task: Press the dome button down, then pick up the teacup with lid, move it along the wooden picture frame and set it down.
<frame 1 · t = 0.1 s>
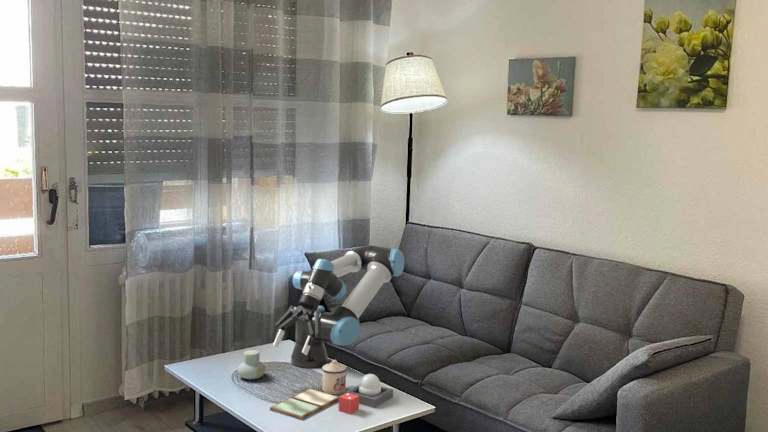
hand: (289, 350, 272), 15 cm above the table, tool tilted 35°, fingers open, 13 cm apart
dome button: (370, 384, 267), point 6 cm above the table, slide at 0.0 cm
teacup with lid: (336, 390, 276), on the table
red die: (348, 410, 257), on the table
button bezel: (369, 398, 268), on the table
wooden picture frame: (305, 404, 261), on the table
air freshener: (251, 377, 286), on the table
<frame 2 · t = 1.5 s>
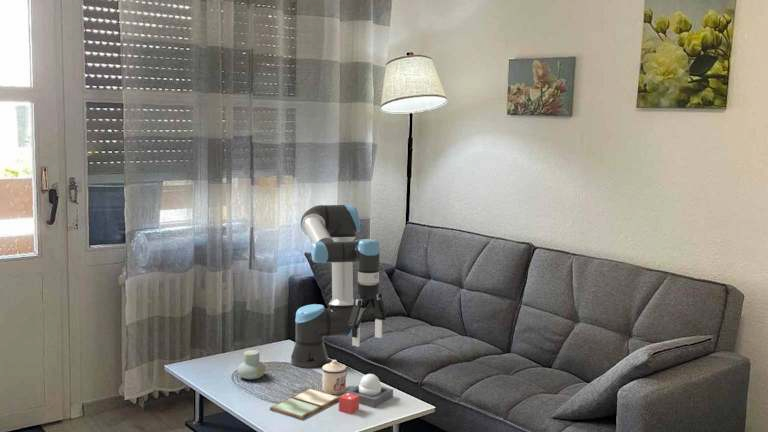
hand: (367, 341, 264), 21 cm above the table, tool pointing down, fingers open, 13 cm apart
nothing on the table moved.
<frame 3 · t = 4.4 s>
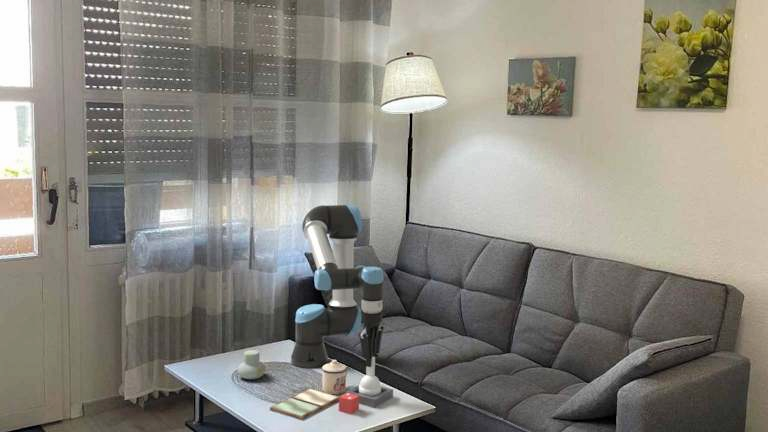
hand: (370, 374, 266), 9 cm above the table, tool pointing down, fingers closed
dome button: (370, 384, 267), point 5 cm above the table, slide at 0.2 cm, touching gripper
everything else where it was.
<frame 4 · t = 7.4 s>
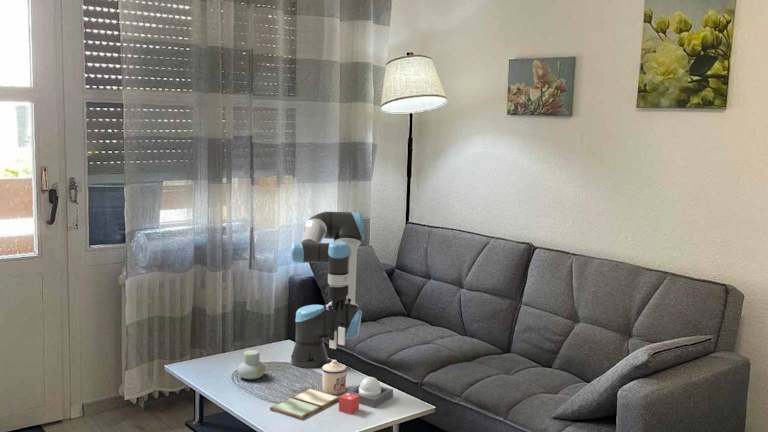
hand: (337, 346, 273), 17 cm above the table, tool pointing down, fingers open, 5 cm apart
dome button: (370, 387, 267), point 4 cm above the table, slide at 1.1 cm
everything else where it was.
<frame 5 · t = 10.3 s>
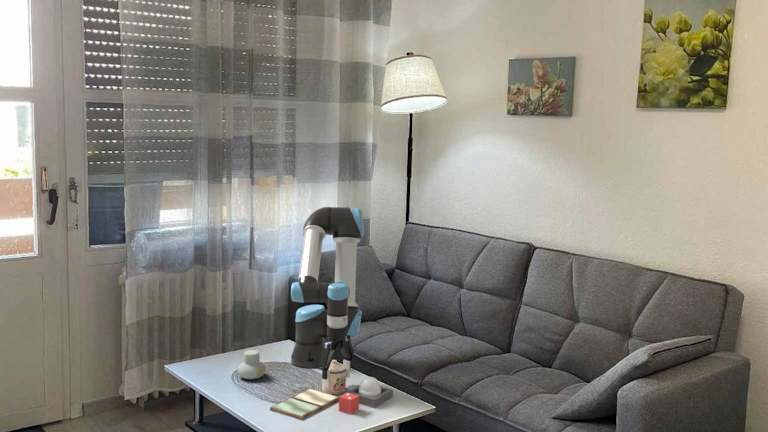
hand: (336, 382, 275), 3 cm above the table, tool pointing down, fingers closed on teacup with lid, 12 cm apart
teacup with lid: (336, 390, 276), on the table, touching gripper
everything else where it was.
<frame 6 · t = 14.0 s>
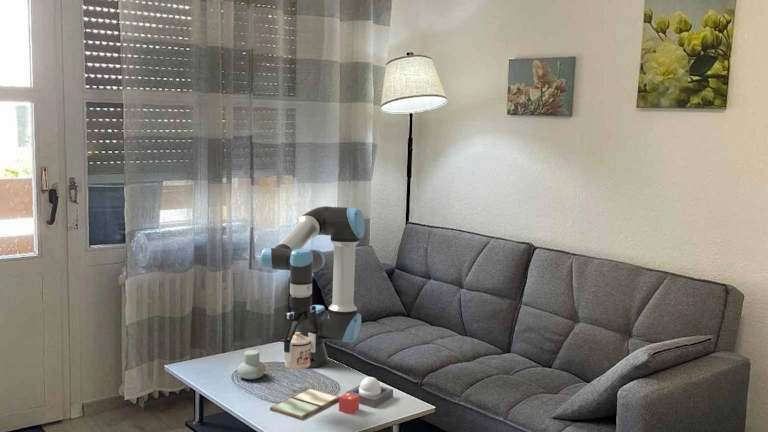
hand: (300, 356, 255), 19 cm above the table, tool pointing down, fingers closed on teacup with lid, 12 cm apart
teacup with lid: (300, 364, 255), point 16 cm above the table, touching gripper
everything else where it was.
when the fingers open (5 cm above the table, at t = 17.9 s): teacup with lid stays where it is, resting on wooden picture frame.
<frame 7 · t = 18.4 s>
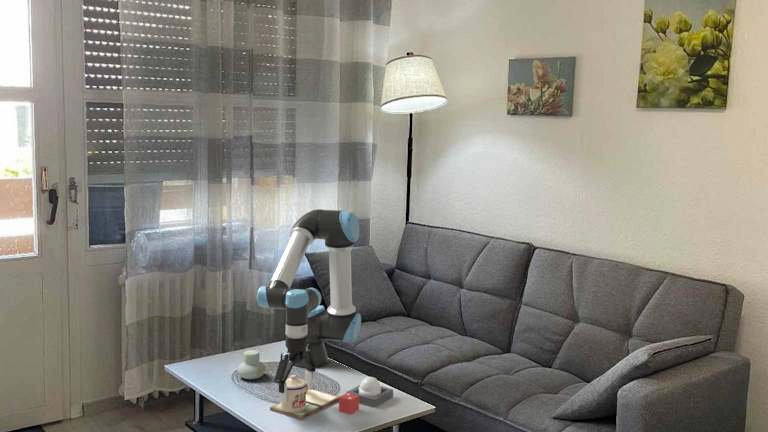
hand: (296, 395, 255), 5 cm above the table, tool pointing down, fingers open, 13 cm apart
teacup with lid: (295, 407, 256), point 1 cm above the table, touching wooden picture frame
everything else where it was.
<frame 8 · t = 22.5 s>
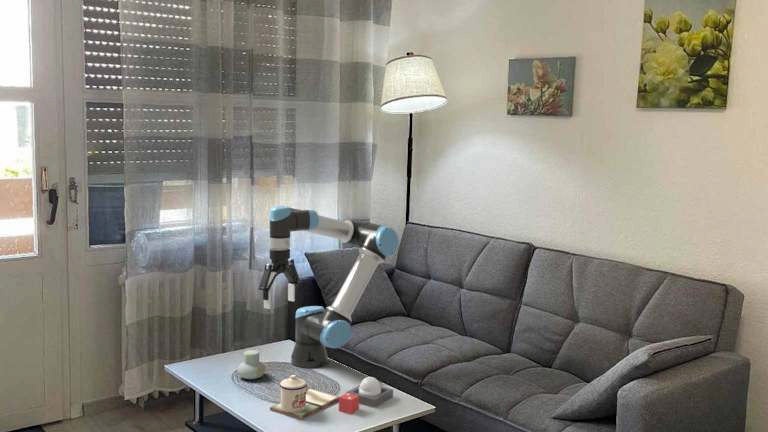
hand: (279, 304, 276), 31 cm above the table, tool pointing down, fingers open, 13 cm apart
nothing on the table moved.
at the end: dome button slide at 1.1 cm; teacup with lid inside the target area (0.1 cm from its centre), point 0.9 cm above the table; teacup with lid tilted 0° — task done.
